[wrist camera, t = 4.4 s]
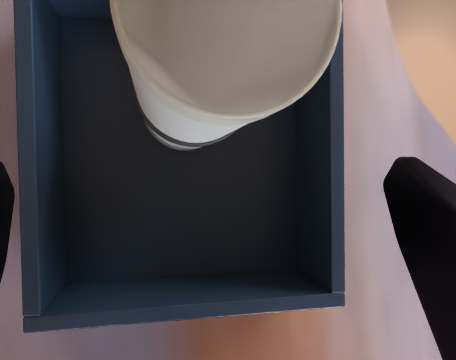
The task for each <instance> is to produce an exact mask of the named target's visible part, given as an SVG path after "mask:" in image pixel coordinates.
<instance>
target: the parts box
mask: <svg viewBox="0 0 456 360" xmlns="http://www.w3.org/2000/svg"><path fill="white" fill-rule="evenodd" d="M13 1H14V34H15V68H16V101H17V135H18V168H19V202H20V235H21V269H22V302H23V316H24V318H23V331H24V333H33V332H45V331H57V330H69V329H81V328H93V327H105V326H117V325H129V324H141V323H153V322H165V321H178V320H190V319H202V318H214V317H226V316H238V315H250V314H262V313H274V312H286V311H298V310H310V309H322V308H334V307H344V306H345V294H344V292H345V252H344V94H343V0H342V22H341V28H340V33H339V38H338V42H337V45H336V48H335V51H334V54H333V56H332V58H331V60H330V62H329V64H328V66H327V68H326V69H325V71H324V72H323V74H322V76H321V77H320V78H319V80H318V81H317V82H316V83H315V84H314V86H313V87H312V88H311V89H310V90H309V91H308V92H306V93H305V94H304V95H303V96H302V97H301V98H299V99H298V100H297V101H295V102H294V103H292V104H291V105H289V106H287V107H285V108H283V109H281V110H279V111H277V112H275V113H273V114H271V115H269V116H267V117H265V118H263V119H260V120H257V121H254V122H250V123H248V124H246V125H244V126H242V127H240V128H238V129H237V130H236V131H235V132H234V133H233V134H231V135H230V136H229V137H227V138H225V139H223V140H221V141H219V142H217V143H214V144H212V145H208V146H203V147H201V148H198V149H195V150H189V151H182V150H175V149H172V148H169V147H167V146H165V145H163V144H162V143H160V142H159V141H158V140H156V139H155V138H154V137H153V136H152V135H151V133H150V132H149V130H148V129H147V127H146V125H145V122H144V120H143V118H142V116H141V114H140V112H139V110H138V108H137V105H136V102H135V99H134V95H133V88H132V77H131V73H130V70H129V66H128V63H127V61H126V59H125V57H124V55H123V52H122V49H121V47H120V44H119V41H118V38H117V34H116V31H115V28H114V23H113V19H112V14H111V9H110V0H13Z"/></svg>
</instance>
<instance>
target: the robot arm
mask: <svg viewBox="0 0 456 360" xmlns="http://www.w3.org/2000/svg"><path fill="white" fill-rule="evenodd" d="M383 188H384V193H385V197H386V200H387V204H388V208H389V212H390V216H391V219H392V223H393V227H394V231H395V234H396V238H397V241H398V244H399V247H400V250H401V252H402V255H403V257H404V260H405V263H406V265H407V268H408V271H409V273H410V276H411V278H412V281H413V284H414V286H415V289H416V291H417V294H418V297H419V299H420V302H421V304H422V307H423V310H424V312H425V315H426V317H427V320H428V323H429V325H430V328H431V331H432V333H433V336H434V338H435V341H436V344H437V346H438V349H439V351H440V354H441V357H442V359H443V360H456V184H455V183H453V182H452V181H450V180H449V179H447V178H446V177H444V176H443V175H441V174H440V173H438V172H437V171H435V170H434V169H432V168H431V167H430V166H428V165H427V164H425V163H424V162H422V161H421V160H419V159H418V158H416V157H399V158H398V159H396V160H395V162H394V164H393V165H392V167H391V169H390V170H389V172H388V174H387V175H386V177H385V179H384V182H383ZM14 197H15V194H14V188H13V185H12V183H11V180H10V178H9V176H8V173H7V171H6V168H5V166H4V165H3V163H2V162H0V282H1V279H2V275H3V271H4V267H5V263H6V257H7V250H8V243H9V236H10V228H11V221H12V213H13V206H14Z"/></svg>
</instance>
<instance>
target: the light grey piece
mask: <svg viewBox="0 0 456 360" xmlns="http://www.w3.org/2000/svg"><path fill="white" fill-rule="evenodd" d="M110 9H111V14H112V19H113V23H114V28H115V31H116V34H117V38H118V41H119V44H120V47H121V49H122V52H123V55H124V57H125V59H126V61H127V63H128V66H129V70H130V73H131V77H132V88H133V95H134V99H135V102H136V105H137V108H138V110H139V112H140V114H141V116H142V118H143V120H144V122H145V125H146V127H147V129H148V130H149V132H150V133H151V135H152V136H153V137H154V138H155V139H156V140H158V141H159V142H160V143H162V144H163V145H165V146H167V147H169V148H172V149H175V150H182V151H189V150H195V149H198V148H201V147H203V146H208V145H212V144H214V143H217V142H219V141H221V140H223V139H225V138H227V137H229V136H230V135H231V134H233V133H234V132H235V131H236V130H237V129H238V128H240V127H242V126H244V125H246V124H248V123H250V122H254V121H257V120H260V119H263V118H265V117H267V116H269V115H271V114H273V113H275V112H277V111H279V110H281V109H283V108H285V107H287V106H289V105H291V104H292V103H294V102H295V101H297V100H298V99H299V98H301V97H302V96H303V95H304V94H305V93H306V92H308V91H309V90H310V89H311V88H312V87H313V86H314V84H315V83H316V82H317V81H318V80H319V78H320V77H321V76H322V74H323V72H324V71H325V69H326V68H327V66H328V64H329V62H330V60H331V58H332V56H333V54H334V51H335V48H336V45H337V42H338V38H339V33H340V28H341V22H342V0H110Z"/></svg>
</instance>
